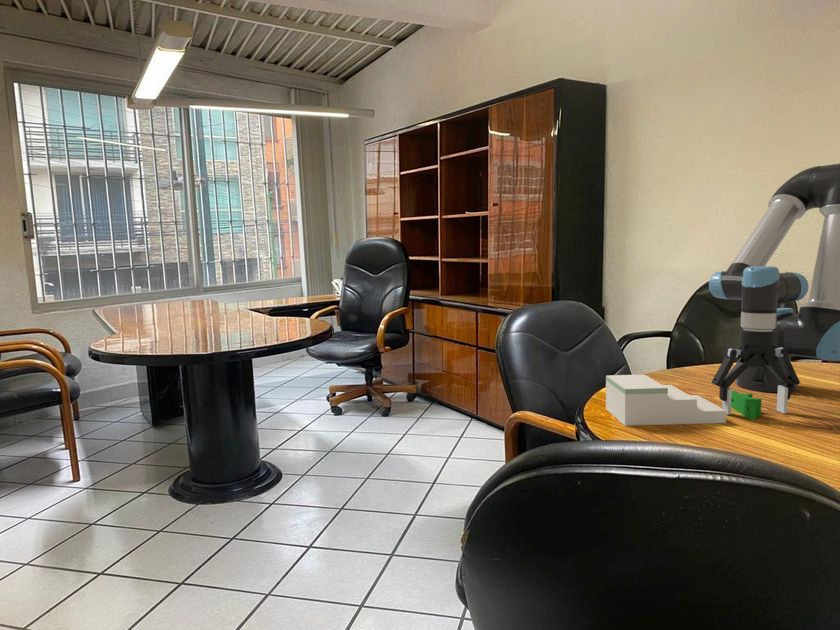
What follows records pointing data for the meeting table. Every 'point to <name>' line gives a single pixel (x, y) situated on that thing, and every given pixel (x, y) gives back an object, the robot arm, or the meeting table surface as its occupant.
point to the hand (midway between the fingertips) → (753, 412)
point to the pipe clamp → (746, 405)
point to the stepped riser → (656, 403)
